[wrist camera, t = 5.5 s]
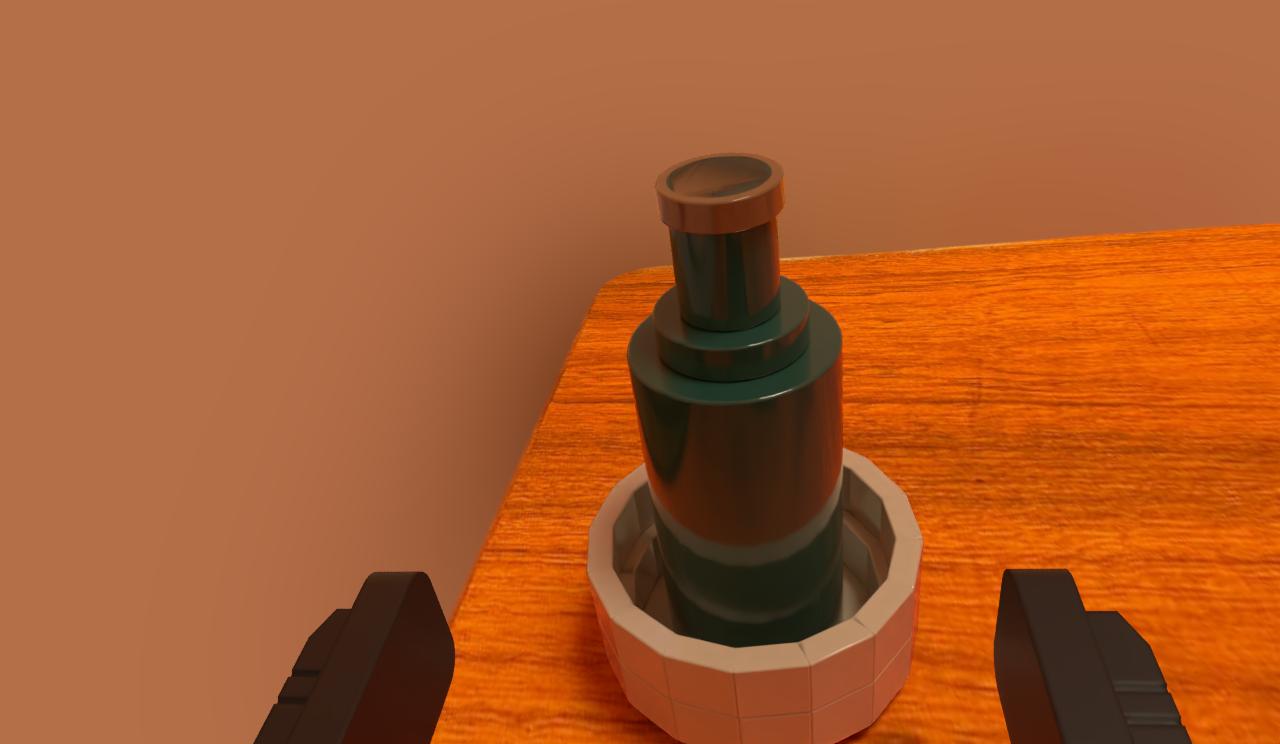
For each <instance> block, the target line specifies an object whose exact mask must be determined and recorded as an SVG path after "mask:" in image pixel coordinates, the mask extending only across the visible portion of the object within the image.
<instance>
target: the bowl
mask: <svg viewBox="0 0 1280 744" xmlns="http://www.w3.org/2000/svg"><path fill="white" fill-rule="evenodd" d="M922 557H923V537H922V534H921V531H920V529H919V526H918V524H917V521H916V519H915V516H914V513H913V511H912V508H911V506H910V503H909V500H908V498H907V496H906V494H905V493H904V492H903V491H902V490H901V489H900V488H899V487H898V486H897V485H896V484H895V483H894V482H893V481H892V480H891V479H889V478H888V477H887V476H886V475H885V474H884V473H883V472H882V471H881V470H880V469H879V468H878V467H876V466H875V465H874V464H873V463H872V462H871V461H870V460H869V459H867V458H866V457H864V456H862V455H859V454H857V453H855V452H852V451H850V450H848V449H845V448H843V622H841V623H839V624H837V625H835V626H833V627H831V628H828V629H826V630H824V631H822V632H820V633H818V634H815V635H813V636H811V637H809V638H807V639H805V640H802V641H800V642H794V643H784V644H773V645H763V646H752V647H742V648H733V647H728V646H724V645H720V644H716V643H711V642H707V641H703V640H699V639H694V638H690V637H686V636H682V635H677V634H675V633H674V632H673V628H672V622H671V616H670V610H669V604H668V598H667V592H666V587H665V581H664V575H663V569H662V563H661V557H660V551H659V545H658V539H657V533H656V527H655V521H654V515H653V509H652V503H651V497H650V491H649V485H648V479H647V473H646V467H645V462H644V463H643V464H641V465H640V466H639V467H637V468H636V469H635V470H634V471H632V472H631V473H630V474H628V475H627V476H626V477H624V478H623V479H622V480H621V481H619V482H618V483H617V484H616V485H615V487H613V488H612V490H611V492H610V493H609V495H608V497H607V498H606V500H605V502H604V503H603V505H602V507H601V508H600V510H599V512H598V513H597V515H596V517H595V518H594V520H593V522H592V523H591V526H590V527H589V537H588V556H587V576H588V580H589V584H590V589H591V593H592V597H593V601H594V605H595V610H596V614H597V618H598V622H599V626H600V630H601V635H602V639H603V643H604V647H605V651H606V656H607V659H608V661H609V663H610V665H611V667H612V669H613V671H614V673H615V675H616V677H617V679H618V681H619V683H620V685H621V687H622V689H623V691H624V693H625V695H626V697H627V699H628V701H629V702H630V703H631V705H632V706H633V707H635V708H636V709H637V710H638V711H640V712H641V713H642V714H643V715H645V716H646V717H647V718H649V719H650V720H651V721H652V722H654V723H655V724H656V725H657V726H659V727H660V728H661V729H662V730H664V731H665V732H666V733H668V734H669V735H670V736H671V737H673V738H674V739H675V740H679V741H680V742H682V743H685V744H835V743H837V742H839V741H841V740H843V739H845V738H847V737H849V736H851V735H853V734H855V733H857V732H859V731H861V730H863V729H865V728H867V727H869V726H871V724H872V723H874V722H875V720H876V719H877V718H878V717H879V715H880V714H881V713H882V712H883V710H884V709H885V708H886V707H887V705H888V704H889V703H890V701H891V700H892V699H893V698H894V696H895V695H896V694H897V693H898V691H899V690H900V689H901V688H902V686H903V685H904V684H905V683H906V681H907V680H908V676H909V675H910V670H911V664H912V658H913V652H914V647H915V641H916V635H917V629H918V616H919V601H920V586H921V572H922Z"/></svg>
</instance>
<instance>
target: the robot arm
mask: <svg viewBox="0 0 1280 744" xmlns="http://www.w3.org/2000/svg"><path fill="white" fill-rule="evenodd" d="M454 665H455V647H454V641H453V637H452V634H451V632H450V629H449V627H448V624H447V622H446V619H445V616H444V614H443V611H442V609H441V606H440V604H439V601H438V599H437V596H436V593H435V591H434V589H433V586H432V583H431V581H430V579H429V577H428V575H427V574H426V573H424V572H374V573H372V574H370V575H369V576H368V578H367V579H366V580H365V582H364V584H363V586H362V588H361V590H360V592H359V594H358V596H357V598H356V600H355V602H354V604H353V606H352V608H351V609H336V611H334V612H333V613H332V614H331V615H330V616H329V617H328V618H327V620H326V621H325V622H324V623H323V624H322V625H321V626H320V627H319V628H318V629H317V630H316V631H315V632H314V633H313V634H312V635H311V636H310V637H309V638H308V640H307V642H306V644H305V646H304V648H303V650H302V652H301V654H300V656H299V657H298V659H297V661H296V663H295V665H294V667H293V669H292V676H291V677H288V678H287V680H286V682H285V684H284V686H283V688H282V690H281V692H280V694H279V696H278V703H277V704H274V705H273V707H272V709H271V711H270V713H269V715H268V717H267V719H266V720H265V722H264V724H263V726H262V728H261V730H260V732H259V734H258V736H257V738H256V740H255V742H254V743H253V744H430V743H431V740H432V737H433V734H434V731H435V728H436V725H437V722H438V719H439V716H440V713H441V711H442V708H443V705H444V702H445V699H446V696H447V693H448V690H449V687H450V684H451V681H452V677H453V673H454ZM994 666H995V675H996V682H997V688H998V692H999V697H1000V701H1001V705H1002V709H1003V713H1004V717H1005V721H1006V725H1007V729H1008V733H1009V737H1010V741H1011V744H1192V742H1191V740H1190V737H1189V735H1188V733H1187V730H1186V728H1185V726H1182V724H1181V716H1180V714H1179V712H1178V709H1177V707H1176V705H1175V703H1174V700H1173V698H1172V696H1171V693H1168V691H1167V684H1166V682H1165V679H1164V677H1163V675H1162V672H1161V670H1160V668H1159V665H1158V663H1157V661H1156V658H1155V656H1154V654H1153V652H1152V649H1151V647H1150V645H1149V644H1148V643H1147V642H1146V641H1145V640H1144V639H1143V638H1142V637H1141V636H1140V635H1139V634H1138V633H1137V631H1136V630H1135V629H1134V628H1133V627H1132V626H1131V625H1130V624H1129V623H1128V622H1127V621H1126V620H1125V619H1124V618H1123V617H1122V616H1121V615H1120V614H1119V613H1118V612H1117V611H1085V608H1084V605H1083V603H1082V600H1081V597H1080V595H1079V592H1078V589H1077V587H1076V584H1075V581H1074V579H1073V577H1072V575H1071V573H1070V572H1069V571H1068V570H1067V569H1006V570H1005V571H1004V574H1003V578H1002V586H1001V593H1000V601H999V609H998V616H997V624H996V632H995V640H994Z"/></svg>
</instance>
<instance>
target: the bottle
mask: <svg viewBox="0 0 1280 744" xmlns="http://www.w3.org/2000/svg"><path fill="white" fill-rule="evenodd" d="M655 192H656V199H657V207H658V214H659V217H660V219H661V220H662V222H663V223H664V224H666V225H667V226H668V227H669V235H670V243H671V251H672V259H673V267H674V276H675V284H676V285H675V286H673V287H672V288H670V289H669V290H668V291H666V292H665V293H664V294H663V295H662V296H661V297H660V298H659V300H658V301H657V303H656V304H655V307H654V310H653V314H651V315H650V316H649V317H647V318H646V319H645V320H644V321H643V322H642V323H641V324H640V325H639V326H638V327H637V329H636V330H635V331H634V333H633V335H632V337H631V339H630V342H629V345H628V349H627V360H628V366H629V372H630V378H631V384H632V390H633V396H634V402H635V408H636V414H637V420H638V426H639V432H640V438H641V444H642V450H643V456H644V461H645V467H646V473H647V479H648V485H649V491H650V497H651V503H652V509H653V515H654V521H655V527H656V533H657V539H658V545H659V551H660V557H661V563H662V569H663V575H664V581H665V587H666V592H667V598H668V604H669V610H670V616H671V622H672V628H673V632H674V633H675V634H677V635H682V636H686V637H690V638H694V639H699V640H703V641H707V642H711V643H716V644H720V645H724V646H728V647H733V648H742V647H752V646H763V645H773V644H784V643H794V642H800V641H802V640H805V639H807V638H809V637H811V636H813V635H815V634H818V633H820V632H822V631H824V630H826V629H828V628H831V627H833V626H835V625H837V624H839V623H841V622H843V355H842V333H841V329H840V327H839V325H838V323H837V322H836V320H835V319H834V317H833V316H832V315H831V314H830V313H829V312H828V311H827V310H826V309H825V308H823V307H822V306H820V305H819V304H817V303H816V302H814V301H812V300H810V299H808V296H807V294H806V293H805V291H804V290H803V289H802V287H800V286H799V285H798V284H797V283H795V282H794V281H792V280H790V279H788V278H786V277H784V276H781V275H780V264H779V243H778V223H777V215H778V214H779V213H780V212H781V210H782V209H783V206H784V204H785V186H784V171H783V169H782V167H781V166H780V165H779V164H778V163H777V162H776V161H774V160H772V159H770V158H767V157H764V156H760V155H755V154H748V153H720V154H711V155H705V156H700V157H697V158H692V159H689V160H686V161H683V162H680V163H678V164H676V165H674V166H672V167H670V168H668V169H667V170H665V171H664V172H663V173H661V175H659V177H658V178H657V181H656V183H655Z"/></svg>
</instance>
